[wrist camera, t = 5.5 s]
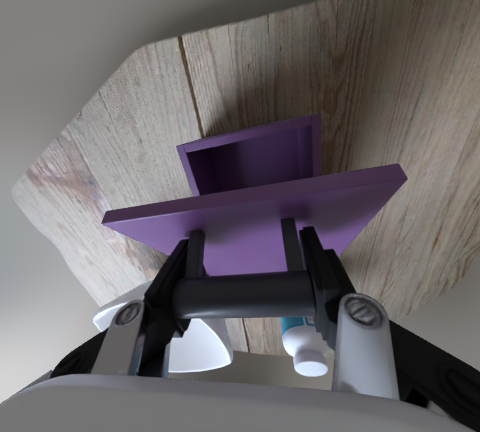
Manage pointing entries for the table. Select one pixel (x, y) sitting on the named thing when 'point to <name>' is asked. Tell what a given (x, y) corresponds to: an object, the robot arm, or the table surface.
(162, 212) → the lid
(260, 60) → the table surface
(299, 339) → the pill bottle
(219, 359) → the bowl
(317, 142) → the purple box
